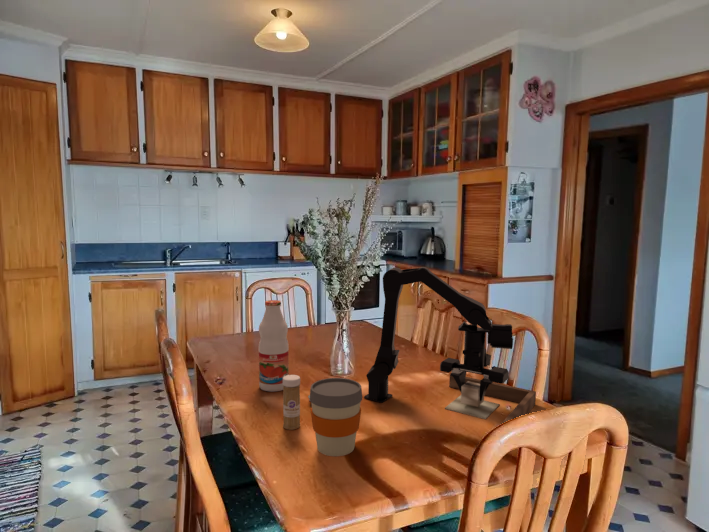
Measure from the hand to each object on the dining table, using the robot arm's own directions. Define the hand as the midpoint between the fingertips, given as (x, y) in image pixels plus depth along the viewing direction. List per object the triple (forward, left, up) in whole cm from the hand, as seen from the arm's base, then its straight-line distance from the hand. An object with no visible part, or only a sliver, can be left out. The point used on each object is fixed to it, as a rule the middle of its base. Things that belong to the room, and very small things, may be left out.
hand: (472, 398), depth 138 cm
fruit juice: (-22, +58, -3) cm, 62 cm away
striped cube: (0, 0, -1) cm, 1 cm away
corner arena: (-1, -1, -2) cm, 3 cm away
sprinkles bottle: (-40, +34, -3) cm, 53 cm away
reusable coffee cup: (-42, +18, -3) cm, 46 cm away
